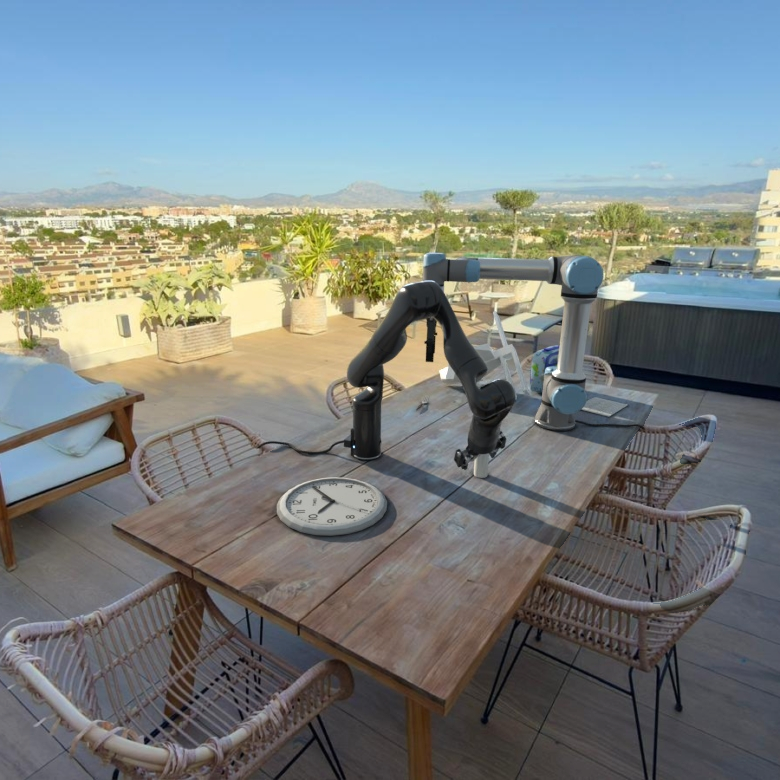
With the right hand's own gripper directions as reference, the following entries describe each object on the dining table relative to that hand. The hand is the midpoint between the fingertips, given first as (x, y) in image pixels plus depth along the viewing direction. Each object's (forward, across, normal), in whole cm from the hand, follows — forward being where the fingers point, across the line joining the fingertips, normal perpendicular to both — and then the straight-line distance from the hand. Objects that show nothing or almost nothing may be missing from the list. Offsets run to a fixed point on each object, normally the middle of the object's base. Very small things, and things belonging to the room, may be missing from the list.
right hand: (430, 357), depth 190 cm
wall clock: (+28, +61, -23) cm, 71 cm away
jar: (+28, +36, +18) cm, 49 cm away
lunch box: (+28, -59, +55) cm, 86 cm away
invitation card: (+28, -38, +73) cm, 87 cm away
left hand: (+17, +50, +16) cm, 55 cm away
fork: (+28, -26, -4) cm, 39 cm away
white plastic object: (+28, -50, +22) cm, 61 cm away
